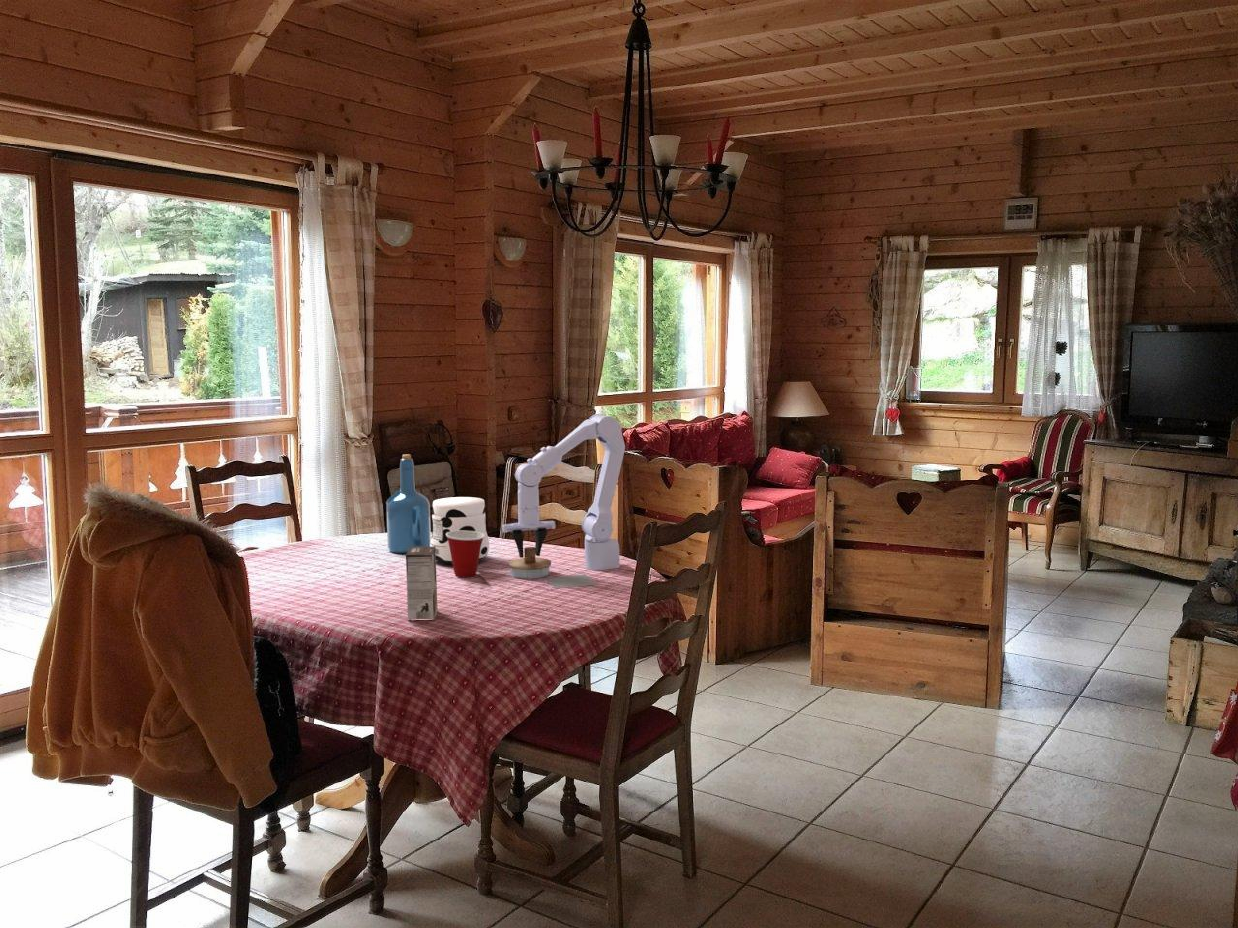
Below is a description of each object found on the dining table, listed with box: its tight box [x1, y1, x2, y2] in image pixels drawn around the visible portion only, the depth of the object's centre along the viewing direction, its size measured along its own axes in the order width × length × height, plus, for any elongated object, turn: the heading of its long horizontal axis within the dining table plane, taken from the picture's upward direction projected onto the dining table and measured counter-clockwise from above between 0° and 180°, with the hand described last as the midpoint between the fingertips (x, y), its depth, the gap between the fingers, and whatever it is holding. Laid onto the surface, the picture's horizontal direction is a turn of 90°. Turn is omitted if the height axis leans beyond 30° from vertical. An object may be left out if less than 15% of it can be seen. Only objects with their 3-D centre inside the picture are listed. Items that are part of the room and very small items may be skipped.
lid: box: [508, 546, 552, 570], centre depth 281 cm, size 12×12×5 cm
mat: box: [542, 574, 600, 589], centre depth 274 cm, size 12×12×1 cm
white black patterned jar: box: [430, 496, 490, 565], centre depth 302 cm, size 17×17×18 cm
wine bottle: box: [385, 453, 432, 555], centre depth 317 cm, size 14×13×30 cm
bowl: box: [509, 567, 550, 579], centre depth 282 cm, size 10×10×4 cm
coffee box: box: [405, 546, 439, 620], centre depth 244 cm, size 9×6×16 cm
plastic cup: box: [446, 530, 485, 578], centre depth 284 cm, size 11×11×12 cm
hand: (529, 556), depth 282 cm, fingers open, 4 cm apart
